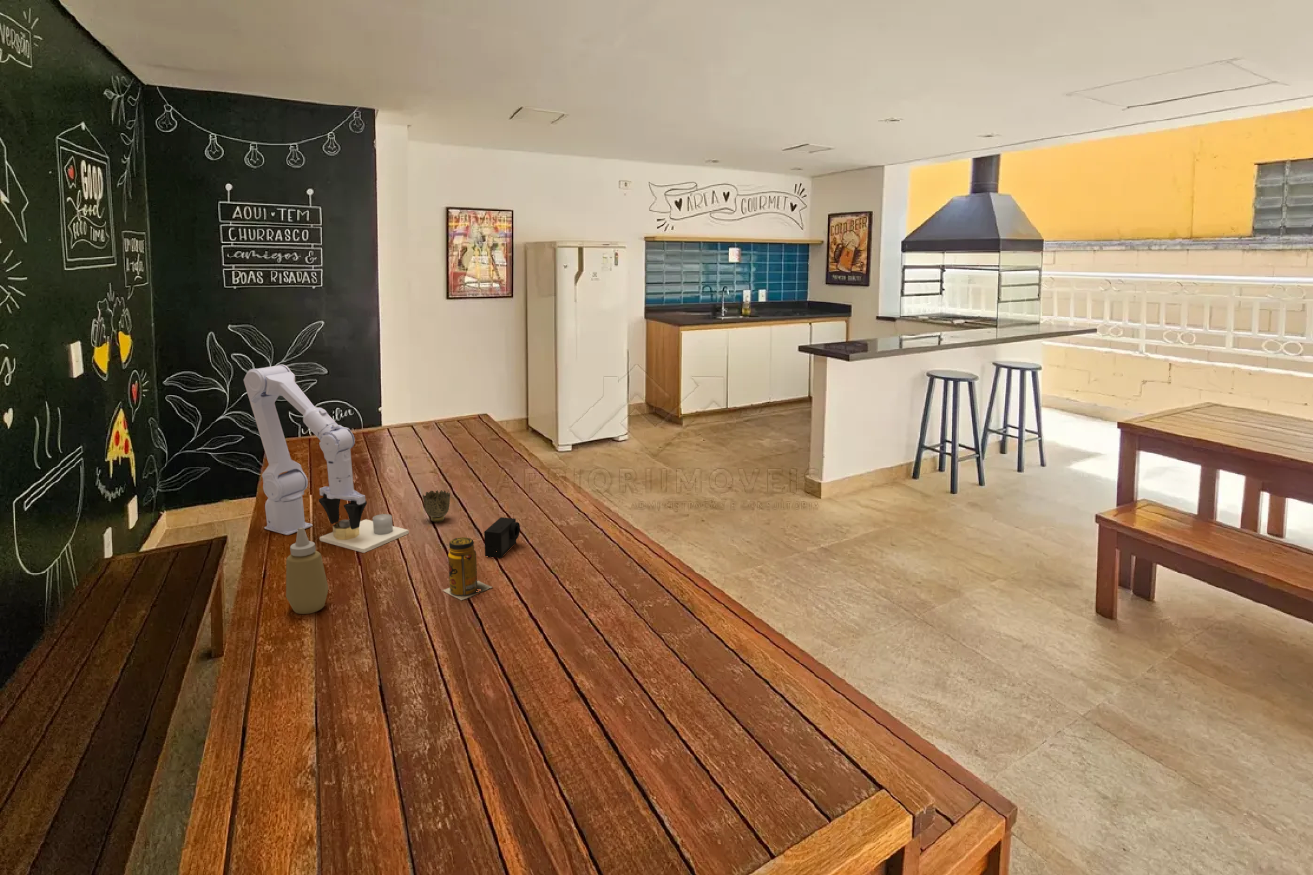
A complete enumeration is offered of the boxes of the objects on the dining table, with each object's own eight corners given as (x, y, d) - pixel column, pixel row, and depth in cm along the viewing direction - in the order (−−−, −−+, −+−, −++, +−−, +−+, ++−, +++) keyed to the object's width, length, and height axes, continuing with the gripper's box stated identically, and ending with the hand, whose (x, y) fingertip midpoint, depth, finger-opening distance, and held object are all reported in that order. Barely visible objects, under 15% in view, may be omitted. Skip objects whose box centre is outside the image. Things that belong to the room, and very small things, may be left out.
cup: (443, 526, 198) (442, 499, 196) (419, 524, 199) (417, 496, 197) (456, 517, 205) (454, 490, 203) (432, 515, 206) (430, 488, 204)
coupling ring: (331, 534, 188) (330, 524, 187) (353, 529, 191) (352, 519, 191) (339, 541, 184) (338, 530, 183) (362, 536, 187) (361, 525, 187)
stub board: (319, 540, 186) (318, 522, 185) (366, 522, 199) (364, 505, 198) (363, 552, 179) (362, 534, 178) (408, 533, 192) (407, 515, 191)
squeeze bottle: (316, 595, 157) (308, 518, 152) (337, 606, 152) (330, 527, 148) (280, 609, 150) (270, 529, 146) (301, 621, 146) (292, 538, 141)
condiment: (441, 590, 160) (439, 541, 157) (473, 578, 167) (471, 530, 164) (461, 601, 156) (458, 550, 153) (492, 588, 162) (491, 539, 159)
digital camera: (505, 559, 178) (504, 533, 176) (484, 557, 179) (483, 531, 177) (520, 543, 188) (520, 518, 186) (501, 541, 189) (500, 516, 187)
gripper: (307, 475, 183) (312, 525, 186) (347, 484, 177) (352, 535, 180) (330, 468, 189) (335, 516, 192) (370, 476, 183) (374, 526, 186)
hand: (344, 525), depth 187 cm, fingers open, 7 cm apart
